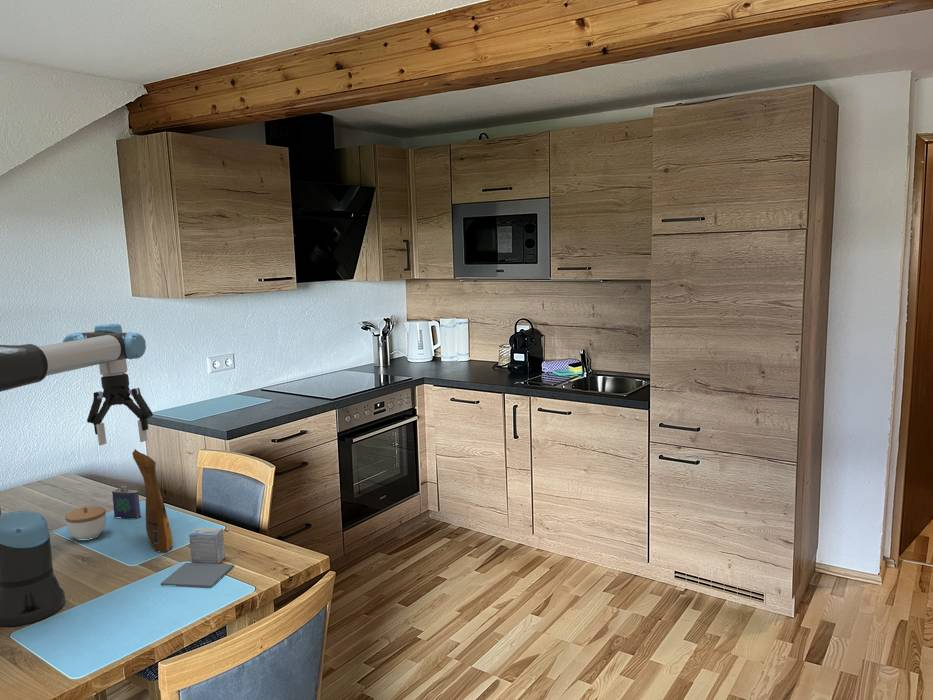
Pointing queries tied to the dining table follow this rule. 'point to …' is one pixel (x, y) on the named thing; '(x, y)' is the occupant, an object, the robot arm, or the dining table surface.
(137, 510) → the flask
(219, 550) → the medicine box
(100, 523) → the lidded jar
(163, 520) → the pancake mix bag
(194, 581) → the mat
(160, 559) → the dining table surface
